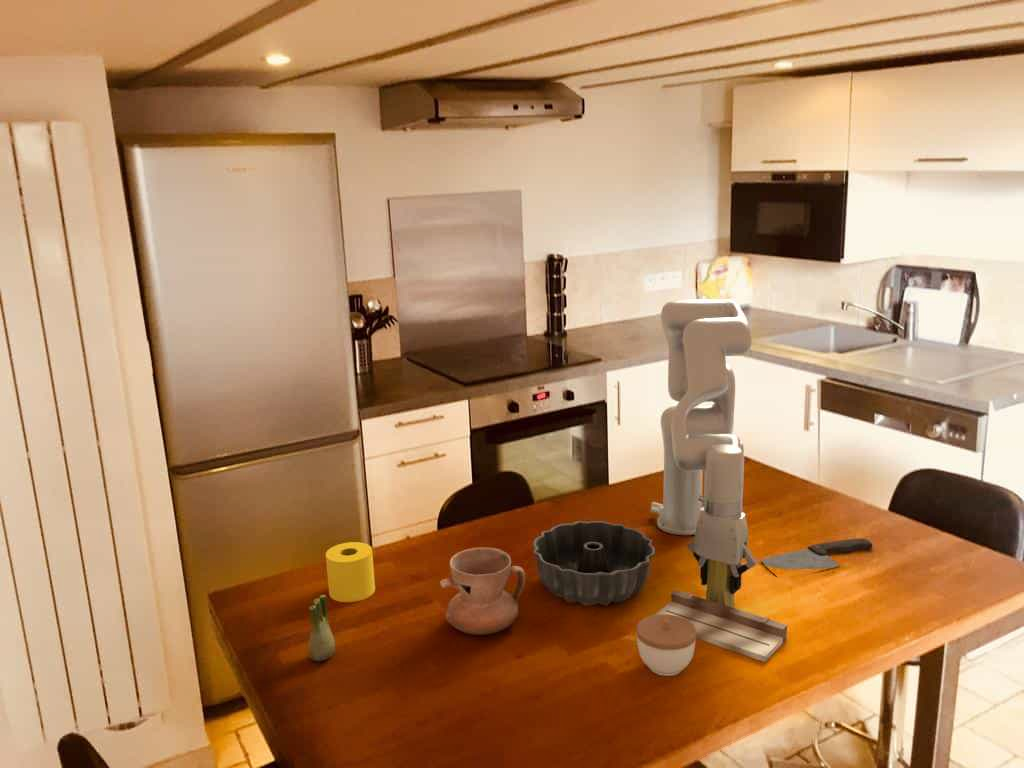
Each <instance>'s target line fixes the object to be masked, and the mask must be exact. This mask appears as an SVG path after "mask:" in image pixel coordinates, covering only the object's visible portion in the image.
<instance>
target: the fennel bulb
mask: <svg viewBox="0 0 1024 768" xmlns="http://www.w3.org/2000/svg"><path fill="white" fill-rule="evenodd" d="M312 604H313V605H310V607H309V608H308V611H309V617H310V618H309V619H310V624H311V626H310V627H311V629H310V630H311V631H310V632H311V633H310V637H309V640H308V656H309V659H311V660H312V661H315V662H322V661H323V662H324V661H326V660H328V659H330V658H331V657H332V656H333V655H334V654H335V650H336V644H335V643H336V642H335V639H334V636H333V633H332V632H333V631H331V627H330V623H329V620H328V613H327V596H326V595H325V594H322V595H319V597H318V598H315V599H314V600H313V601H312Z"/></svg>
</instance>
